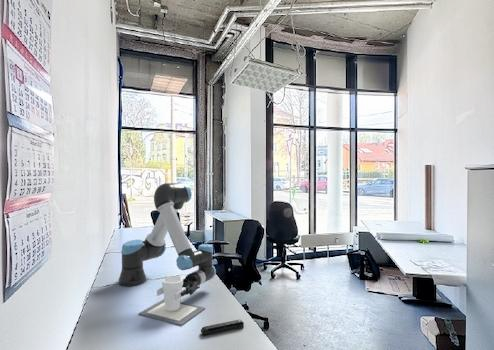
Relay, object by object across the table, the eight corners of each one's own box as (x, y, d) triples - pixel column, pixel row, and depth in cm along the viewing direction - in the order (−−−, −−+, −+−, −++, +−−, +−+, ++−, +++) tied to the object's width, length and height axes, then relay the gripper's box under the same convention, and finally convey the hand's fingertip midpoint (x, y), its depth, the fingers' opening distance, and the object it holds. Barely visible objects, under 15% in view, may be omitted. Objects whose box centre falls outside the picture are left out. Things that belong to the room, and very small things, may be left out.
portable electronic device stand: (202, 337, 125) (202, 330, 125) (200, 334, 128) (200, 327, 128) (244, 328, 133) (244, 321, 133) (241, 325, 135) (241, 318, 135)
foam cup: (187, 306, 149) (187, 278, 148) (173, 313, 141) (173, 284, 140) (172, 301, 153) (172, 274, 153) (157, 308, 146) (157, 280, 145)
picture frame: (138, 314, 144) (138, 312, 144) (165, 299, 160) (165, 298, 160) (181, 325, 134) (181, 324, 134) (205, 309, 150) (205, 307, 150)
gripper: (213, 290, 158) (186, 307, 138) (177, 283, 168) (147, 298, 148) (213, 275, 158) (186, 290, 138) (177, 269, 168) (147, 282, 148)
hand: (166, 294), depth 143 cm, fingers closed on foam cup, 9 cm apart
